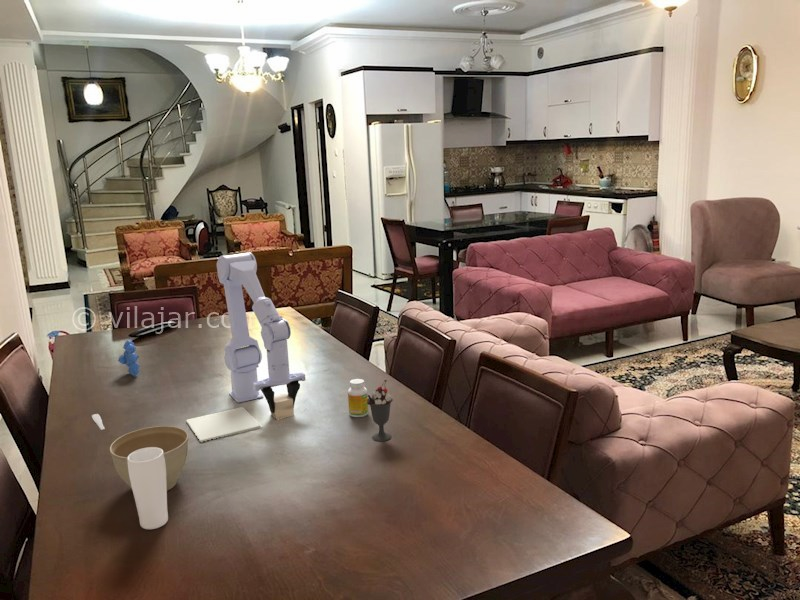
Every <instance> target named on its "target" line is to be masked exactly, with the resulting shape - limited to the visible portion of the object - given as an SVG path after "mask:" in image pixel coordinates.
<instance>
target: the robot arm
mask: <svg viewBox="0 0 800 600" xmlns="http://www.w3.org/2000/svg"><path fill="white" fill-rule="evenodd" d="M216 270H217V277H218V281H219V283H220V284H222V285H223V288H224V295H225V302H226V307H227V313H228V319H229V327H230V332H231V339H230V340H229V341H228V342H227V343H226V344H225V346H224V363H225V366H226V368H227V369H228V370H229V371H230V383H231V391H230V392H228V393H229V395H230V396H231V398H233V400H235V402H237V403H243V402H248V401H252V400H257V399H261V398H263V397H264V398H265V400H266V402H267V404H268V407H269V411H270V413H271V412H272V413H275V406H274V396H275V391H274V390H273V387H279V386H285V385H286V390H287V395H289V396H290V397H291V398H292V399H293V408H295V402H296V397H297V395H298V392H299V391H300V388H301V383H300V382H305V381H306V373H304V372H297V373H296V372H295V373H290V364H289V363H290V361H289V360H290V359H289V351H288V350H289V349H288V340H289V339H290V337H291V333H292V331H291V326H290V324H289V322H288V320H287V319H286V318H284V317H283V316H282V315H280V314H279V312H278V310H277V308H276V307H275V304H274V303H273V301H272V299H271V298H269V297H266V296H265V293H264V291H263V290H264V289H262V285H261V282H260V280H259V278H258V275H257V270H258V265H257V259H256V257H255V255H254V254H253V252H250V251H247V252H242V253H235V254H228V255H220V256H219V257H218V259H217V261H216ZM243 288H244V289H245V291H246V293H247V294H248V296H249V297H250V299H251V301H252V303H253V304H252V306H251V309H252V311H253V313H254V315H255V317H256V319H257V321H258V323H259V324H260V327H261V331H260V336H261V339H262V341H263V347H264V349H265V350H266V359H267V370H268V371H267V372H268V377H267V378H264V379H261V380H258V371H257V368H259V365H260V364H261V361H262V359H263V353H262V350H261V348H260V346H259V342H258V341H259V340H257V339H255V338H253V337H251V336H250V332H249V325H248V319H247V312H246V306H245V299H244V293H243V292H244V291H243ZM260 391H261V392H260Z"/></svg>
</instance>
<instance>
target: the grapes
mask: <svg viewBox="0 0 800 600" xmlns="http://www.w3.org/2000/svg"><path fill="white" fill-rule="evenodd" d="M122 348H123V349H124V351H123V354H121V355H120V356H119V357H118V360H117V362H119V363H120V364H121V365H125V366H126V367H128V369H127V372H128V373H129V374H130V375H132V376H133V377H136V376H138V374H139V373H140V369H139V368H140V364H139V363H138V360H139V357H140V356H139V355H138V354H137V353H136V350H137V347H136V346H135V343H134V342H133V341H132V340H130V339H127V340H126V341H125V343H124V345H123V346H122Z"/></svg>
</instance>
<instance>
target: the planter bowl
mask: <svg viewBox="0 0 800 600" xmlns="http://www.w3.org/2000/svg"><path fill="white" fill-rule="evenodd" d="M188 442H189V434H188V432H187V431H186V430H185V429H183V428H180V427H178V426H171V425H170V426H169V425H160V426H149V427H148V426H147V427H144V428H140V429H137V430H134V431H130V432H128V433H125V434H123V435H121V436H120V437H118V438H116V439H115V440H114V441H113V442H112V443H111V445H110V446H109V452H110V455H111V457H112V461H113V465H114V468H115V471H116V472H117V474H118V476H119V477H120V478H121V480H123V482H124V483H125V484H127V486H129V487H130V489H131V491H132V492H133V490H132V486H131V482H130V477H129V471H128V461H127V457H128V456H129V455H130V454H131V453H132V452H134V451H136V450H139V449H142V448H148V447H157V448H160V449H162V450H163V453H164V458H165V465H166V484H167V492H168V491H170V490H171V489H173V488H174V487H175V486H176V485H177V483H178V478H179V476H180V475H181V473H182V471H183V469H184V467H185V465H186V461H187V458H188V451H189V448H188V447H189V445H188Z"/></svg>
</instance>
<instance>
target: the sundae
mask: <svg viewBox="0 0 800 600" xmlns="http://www.w3.org/2000/svg"><path fill="white" fill-rule="evenodd" d="M387 381H388V380H387V379H384V380H383V383H382V385H381V386H378V387H377V389H375V390H373V392H372V394H371V395H370V394H367V395H368V399H367V404H368V406H369V407H370V411H371V412H370V413H371V416H372V417H371V418H372V420H373V422H374V424H376V425H378V432H377V433H374V434H373V435H372V440H373V441H376V442H387V441H389V440H391V438H392V435H391V433H387V432H385V428H384V427H385V425H386V423H388V421H389V420H390V419H389V418H390V411H391V404H392V402H393V401H394V399H393V398H392V397H391V395H390V394H389V392H388V389H387V388H386V387H384V388H382V386H384V385H385V384H386V383H387Z"/></svg>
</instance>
